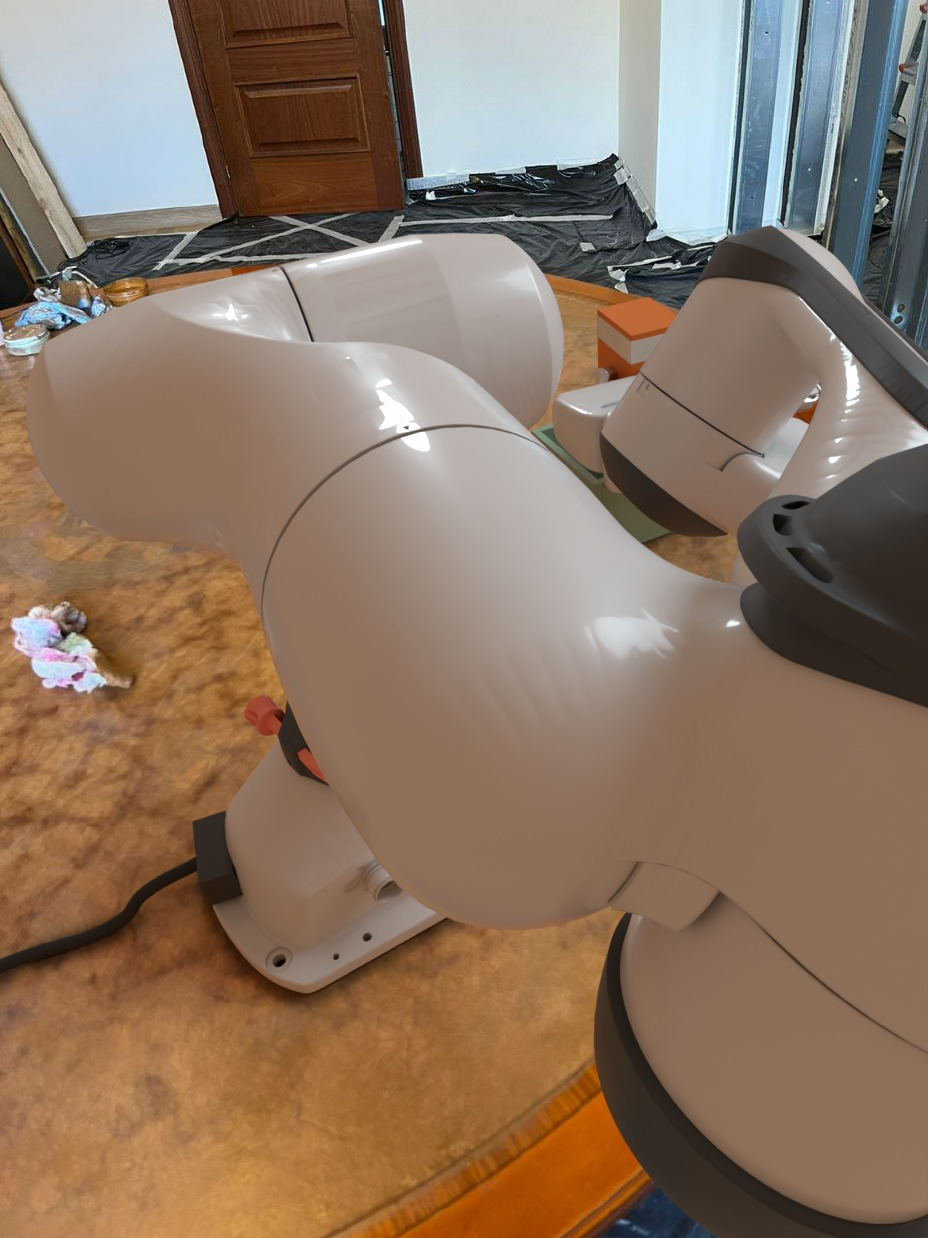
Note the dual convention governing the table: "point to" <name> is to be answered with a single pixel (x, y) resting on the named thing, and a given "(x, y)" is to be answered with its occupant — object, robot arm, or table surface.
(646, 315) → the packet
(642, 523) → the open storage bin
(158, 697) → the table surface
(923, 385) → the robot arm
